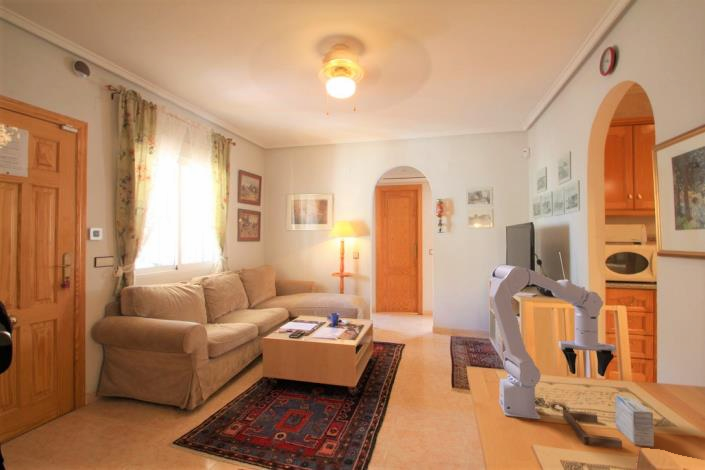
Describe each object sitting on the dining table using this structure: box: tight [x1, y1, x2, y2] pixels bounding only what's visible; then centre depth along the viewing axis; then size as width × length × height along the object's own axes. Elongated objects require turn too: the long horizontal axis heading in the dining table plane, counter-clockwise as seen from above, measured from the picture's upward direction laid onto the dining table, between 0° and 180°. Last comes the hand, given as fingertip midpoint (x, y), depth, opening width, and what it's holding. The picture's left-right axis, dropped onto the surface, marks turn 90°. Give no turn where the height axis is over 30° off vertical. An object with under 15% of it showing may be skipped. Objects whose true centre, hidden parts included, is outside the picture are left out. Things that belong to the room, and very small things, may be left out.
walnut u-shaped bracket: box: [562, 409, 623, 450], centre depth 84 cm, size 8×12×2 cm, turn 167°
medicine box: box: [614, 395, 655, 448], centre depth 82 cm, size 8×4×9 cm, turn 167°
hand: (586, 373), depth 96 cm, fingers open, 7 cm apart
